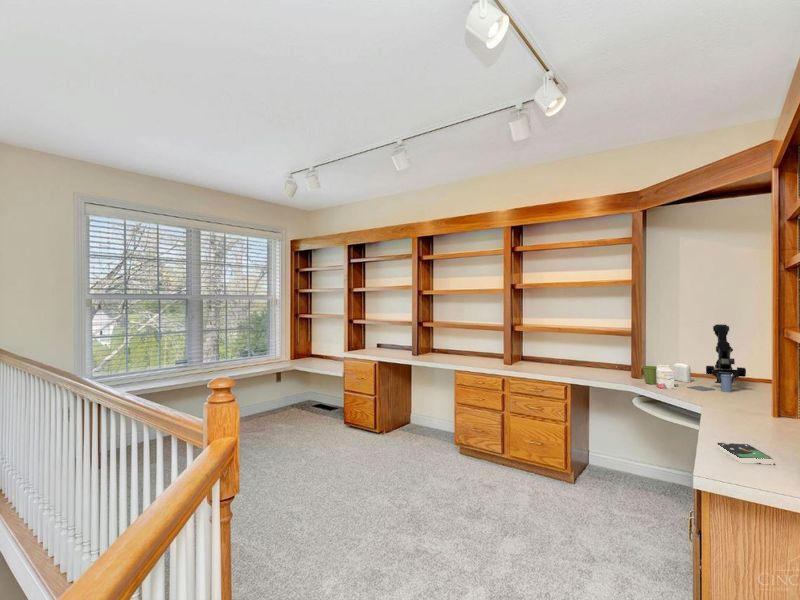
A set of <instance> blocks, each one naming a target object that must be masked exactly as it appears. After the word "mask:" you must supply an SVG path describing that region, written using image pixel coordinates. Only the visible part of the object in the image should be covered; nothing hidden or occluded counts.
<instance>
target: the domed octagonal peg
mask: <svg viewBox="0 0 800 600" xmlns="http://www.w3.org/2000/svg"><path fill="white" fill-rule="evenodd" d="M720 390H721V391H722V392H721V393H725V392H732V391H733V383H732V374H731V375H729V374H721V383H720Z"/></svg>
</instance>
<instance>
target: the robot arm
mask: <svg viewBox="0 0 800 600" xmlns="http://www.w3.org/2000/svg"><path fill="white" fill-rule="evenodd" d="M712 330H713V331H712V332H714V335H715V336H716V337H717V343H716V346H715V352H716V353H717V355H718V356H717V357H718V359H717V360H716V362H715V364H714V365H706V367H705V374H706V375H712V376H714V377H715V378H716V381H715V383H716V382H717V383H716V384H721V374H729V375H731V377H732V384H733V383H734V382H735V380H736V379H737V378H739V377H743V378H744V377H746V376H747V370H746V368H745V367H738V366H737V367H736V369H733V367H732V366H733V365H735V364H736V362H735V361H736V360H735V358H731V353H733V351H734V349H733V348H732V346H731V345H730V343H729V342H728V338H727V336H728V335H729V332H730V326H729V325H727V324H720V323H719V324H714V325H712Z"/></svg>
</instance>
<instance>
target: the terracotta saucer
mask: <svg viewBox="0 0 800 600" xmlns="http://www.w3.org/2000/svg"><path fill="white" fill-rule="evenodd" d="M718 392H720V393H723V392H722V391H721V389H720V390H718ZM724 393H727V394H728V393H729V394H733V393H735V391H733V390H732V392H724Z"/></svg>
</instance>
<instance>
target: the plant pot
mask: <svg viewBox="0 0 800 600" xmlns="http://www.w3.org/2000/svg"><path fill="white" fill-rule="evenodd" d="M640 367H641V370H642V372H643V378H644V381H645V384H649V385H657V379H656V369H657V365H641V366H640Z"/></svg>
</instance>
